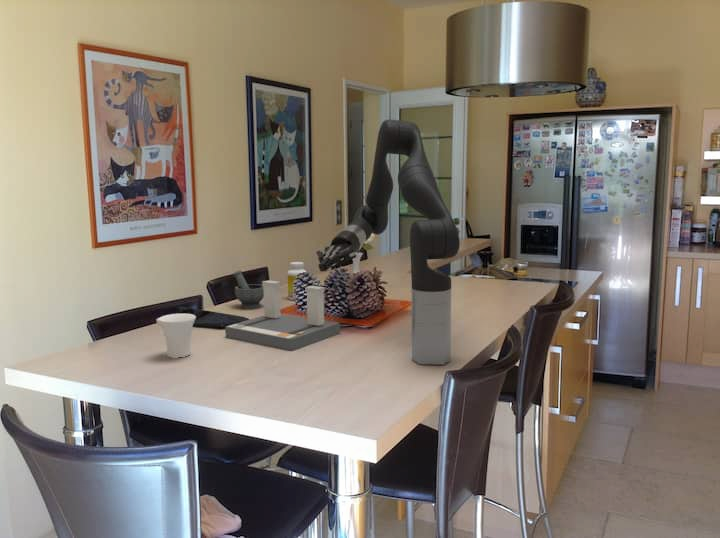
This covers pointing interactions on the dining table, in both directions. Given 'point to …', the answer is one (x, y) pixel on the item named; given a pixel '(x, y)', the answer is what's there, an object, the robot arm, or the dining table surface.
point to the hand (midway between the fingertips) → (321, 268)
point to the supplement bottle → (294, 276)
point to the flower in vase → (358, 255)
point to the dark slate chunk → (211, 318)
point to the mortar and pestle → (248, 292)
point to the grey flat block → (282, 331)
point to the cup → (177, 333)
